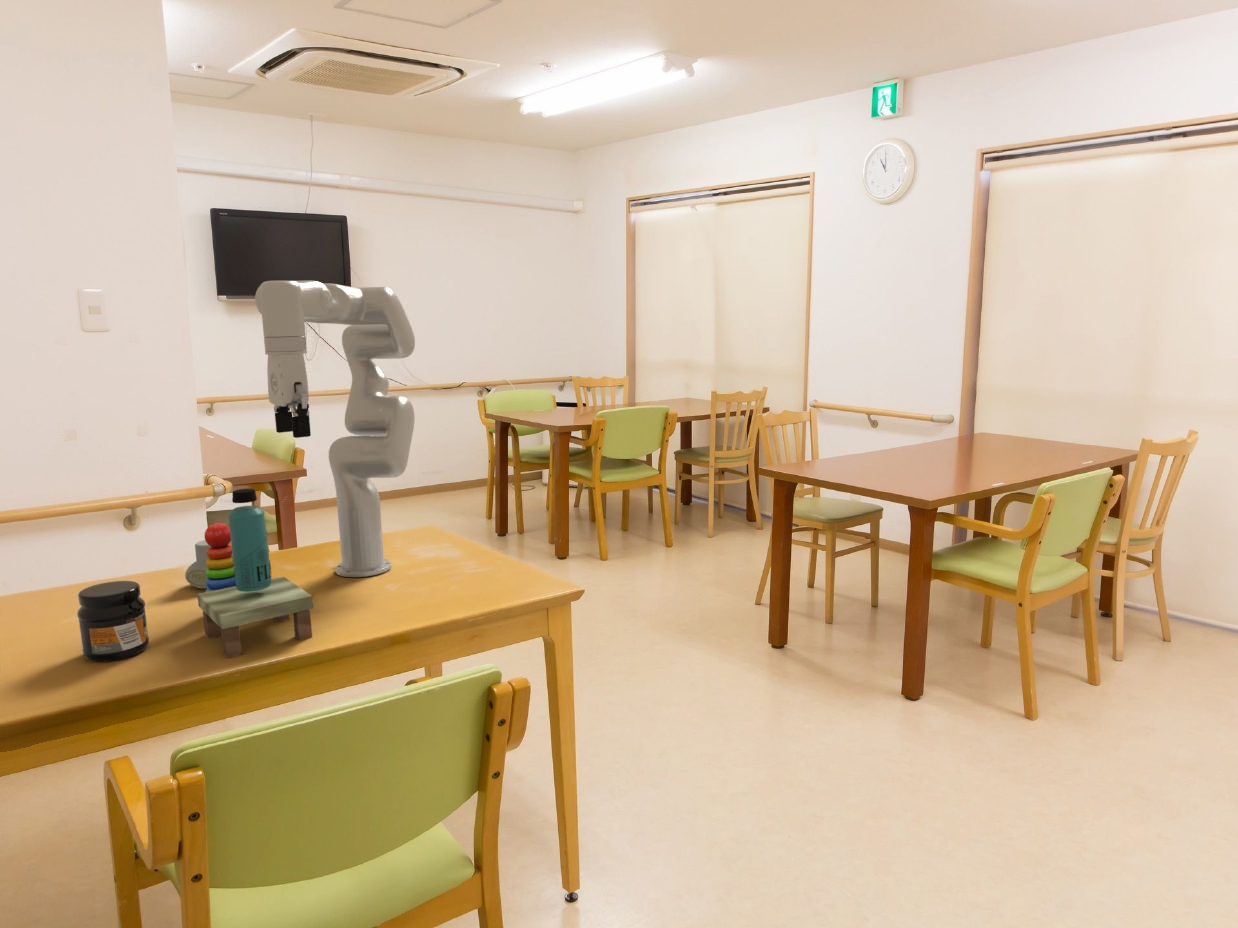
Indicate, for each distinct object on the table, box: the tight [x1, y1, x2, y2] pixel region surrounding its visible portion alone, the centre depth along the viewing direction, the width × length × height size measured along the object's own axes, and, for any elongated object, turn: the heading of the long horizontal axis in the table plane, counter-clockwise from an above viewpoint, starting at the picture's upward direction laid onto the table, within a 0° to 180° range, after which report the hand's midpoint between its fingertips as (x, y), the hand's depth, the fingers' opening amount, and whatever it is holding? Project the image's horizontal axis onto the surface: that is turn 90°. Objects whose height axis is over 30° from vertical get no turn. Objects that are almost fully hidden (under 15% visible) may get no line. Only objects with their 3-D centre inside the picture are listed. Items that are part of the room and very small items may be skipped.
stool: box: [197, 576, 314, 659], centre depth 163 cm, size 16×16×8 cm
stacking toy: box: [204, 522, 236, 592], centre depth 175 cm, size 8×8×19 cm
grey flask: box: [184, 539, 211, 590], centre depth 194 cm, size 11×8×10 cm
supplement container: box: [76, 580, 150, 663], centre depth 156 cm, size 10×10×12 cm
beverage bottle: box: [227, 488, 273, 592], centre depth 161 cm, size 6×7×20 cm
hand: (293, 434), depth 170 cm, fingers open, 9 cm apart
